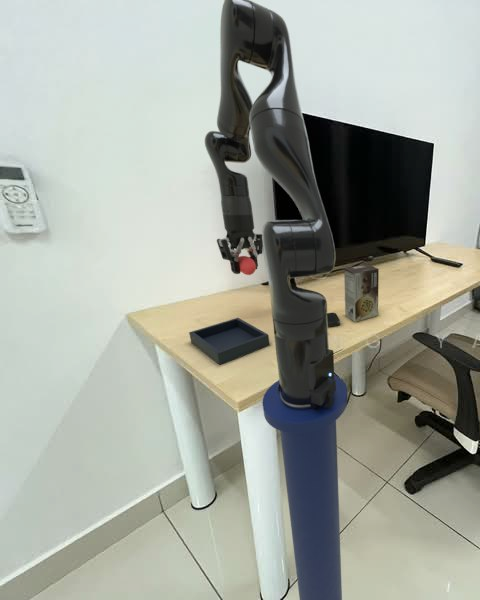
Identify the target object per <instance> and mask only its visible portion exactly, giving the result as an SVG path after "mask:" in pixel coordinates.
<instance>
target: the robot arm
mask: <svg viewBox="0 0 480 600" xmlns="http://www.w3.org/2000/svg"><path fill="white" fill-rule="evenodd" d="M220 15H221V16H220V27H219V30H220V31H219V32H220V33H219V34H220V35H219V37H220V38H219V76H220V77H219V78H220V79H219V81H220V82H219V83H220V94H219V104H218V111H217V115H216V127H217V129H218V130H211V131H208V132H207V133H206V134H205V137H204V147H205V150H206V151H207V154H208V156H209V159H210V161H211V163H212V166H213V168H214V170H215V173H216V178H217V180H218V187H219V193H220V206H221V213H222V218H223V227H224V230H225V231H226V235H225V237H224V238H217V239H216V243H217V246H218V249H219V252H220V256H221V258H222V259H223V260H225V261H229V263H230V270H231V272H232V273H233V274H235V275H240V274H241V272H240V266H239V261H238V258H239V257H240V255H241V253H242V250H244V251H246V252H247V254H248V257H250V258H251V259H253V261H254V262H255V264H256V270H258V267H259V262H258V257H259V255H262V254H263V256H264V263H265V268H266V269H265V270H266V274H267V275H266V276H267V280H268V288H269V297H270V305H271V317H272V325H273V326H272V327H273V335H274V344H275V346H274V347H275V355H276V365H277V371H278V380H279V382H280V384H279V387H278V394H279V392H280V391H281V392H280V396H281V401H282V403H283V404H284V405H285V406H286V407H288V408H291V409H294V410H307V409H313V410H317V409H318V408H319V407H320V406H321V405H322V404H323V403H324V402H325V401H326V400H327V399H329V401H328V402H326V403H325V404H324V407H325V408H328V407H330V406H331V405H332V404H333V403H334V396H333V393H334V392H335V391H336V380H334V375H335V357H334V356H335V355H334V350H333V349H330V348H329V327H328V320H327V313H328V301H327V298H326V297H325V296H324V295H323V294H322V293H320V292H318V291H314V290H312V289H307V288H302V287H299V286H296V285H294V284H292V283H291V279H297V278H307V277H314V276H323V275H328V274H330V273H332V272H333V270H334V269H335V266H336V247H335V241H334V237H333V232H332V229H331V225H330V223H329V219H328V216H327V212H326V209H325V205H324V203H323V199H322V196H321V192H320V189H319V185H318V182H317V177H316V173H315V168H314V162H313V157H312V153H311V148H310V147H311V145H310V141H309V136H308V131H307V128H306V122H305V120H304V115H303V112H302V108H301V103H300V99H299V93H298V87H297V83H296V76H295V69H294V61H293V53H292V46H291V45H292V44H291V38H290V33H289V29H288V26H287V23H286V21H285V19H284V18H283V17H282V16H281V15H280V14H278V13H277V12H275V11H274V10H271V9H269V8H268V7H265V6H263V5H262V4H259V3H257V2H254V1H253V0H223V3H222V9H221V14H220ZM239 62H242V63H245V64H248V65H251V66H254V67H257V68H259V69H262V70H265V71H268V72H269V74H270V76H271V78H270V80H269V82H268V84H267V86H266V87H265V88H264V89H263V90H262V91H261V92H260V93H259V95H258V96H257V98H256V99H255V100H254V102H253V99H252V96H251V95H250V92H249V90H248V89H247V87H246V85H245V83H244V80H243V78H242V76H241V73H240V68H239ZM250 135H251V140H252V144H253V150H254V153H255V156H256V158H257V160H258V161H259V163H260V164H261V166H262V167H263V168H264V169H265V171H266V172H267V174H269V175H270V176H271V178H272V179H273V180H274V181H275V182H277V184H278V185H279V186H280V187H281V188H282V189H283V190H284V191H285V192H286V193H287V195H289V197H290V198H291V199H292V201H293V202H294V204H295V206H296V207H297V208H298V211H299V214H300V215H301V217H302V219H276V220H275V219H274V220H268V221H266V222H265V223H264V225H263V226H262V231H261V233H255V232H254V229H255V222H254V215H253V206H252V201H251V197H250V190H249V189H250V188H249V182H248V181H249V180H248V177H247V175H245V174H244V173H242V172H238V171H234V170H232V169H230V168H229V167H228V166H227V164H226V163H236V164H244V163H245V164H246V163H247V162H248V161H250V160H251V157H252V148H251V142H250Z"/></svg>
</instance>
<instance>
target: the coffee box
mask: <svg viewBox="0 0 480 600" xmlns="http://www.w3.org/2000/svg"><path fill="white" fill-rule="evenodd" d="M343 271H344V274H343V277H344V315H345V317H347V318H348V319H350V320H351V321H353V322H355V323H357V322H360V321H364V320H368V319H371V318H374V317H377V316H379V281H380V280H379V277H380V276H379V275H380V274H379V268H377V267H375V266H373V265H371V264H361V265H355V266H350V267H349V266H348V267H344V268H343Z"/></svg>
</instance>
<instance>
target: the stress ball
mask: <svg viewBox="0 0 480 600" xmlns="http://www.w3.org/2000/svg"><path fill="white" fill-rule="evenodd" d="M238 261H239V266H240V273H242V274H244V275H246V276H251V275H252V274H255V272H256V270H257V269H256V264H255V262H254V261H253V259H251V258H250V256H246V255H241V256H240V255H239V258H238Z"/></svg>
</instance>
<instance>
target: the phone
mask: <svg viewBox="0 0 480 600" xmlns="http://www.w3.org/2000/svg"><path fill="white" fill-rule="evenodd" d="M327 320H328V328H329V327H331V328H332V327H337V326H340V325H341V319H340V318H339V316H338V314H337V312H327Z"/></svg>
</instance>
